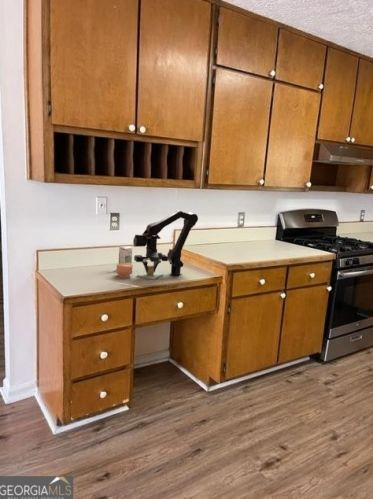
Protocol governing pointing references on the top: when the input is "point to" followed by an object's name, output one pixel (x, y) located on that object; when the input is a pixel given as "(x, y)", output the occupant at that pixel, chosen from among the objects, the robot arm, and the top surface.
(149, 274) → the lid
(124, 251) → the syrup box
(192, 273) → the top surface
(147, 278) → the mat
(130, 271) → the bowl
